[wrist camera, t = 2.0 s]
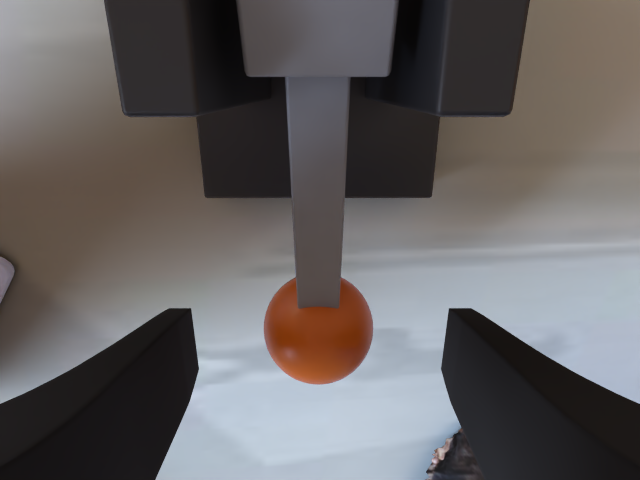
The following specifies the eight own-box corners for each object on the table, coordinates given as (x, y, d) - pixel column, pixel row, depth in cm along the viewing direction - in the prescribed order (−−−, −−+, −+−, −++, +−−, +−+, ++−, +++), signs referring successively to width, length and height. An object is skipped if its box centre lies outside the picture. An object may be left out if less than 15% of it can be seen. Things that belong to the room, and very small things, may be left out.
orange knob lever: (364, 317, 14) (373, 405, 12) (272, 317, 14) (263, 405, 12) (419, -166, 6) (483, -201, 4) (215, -166, 6) (150, -203, 4)
